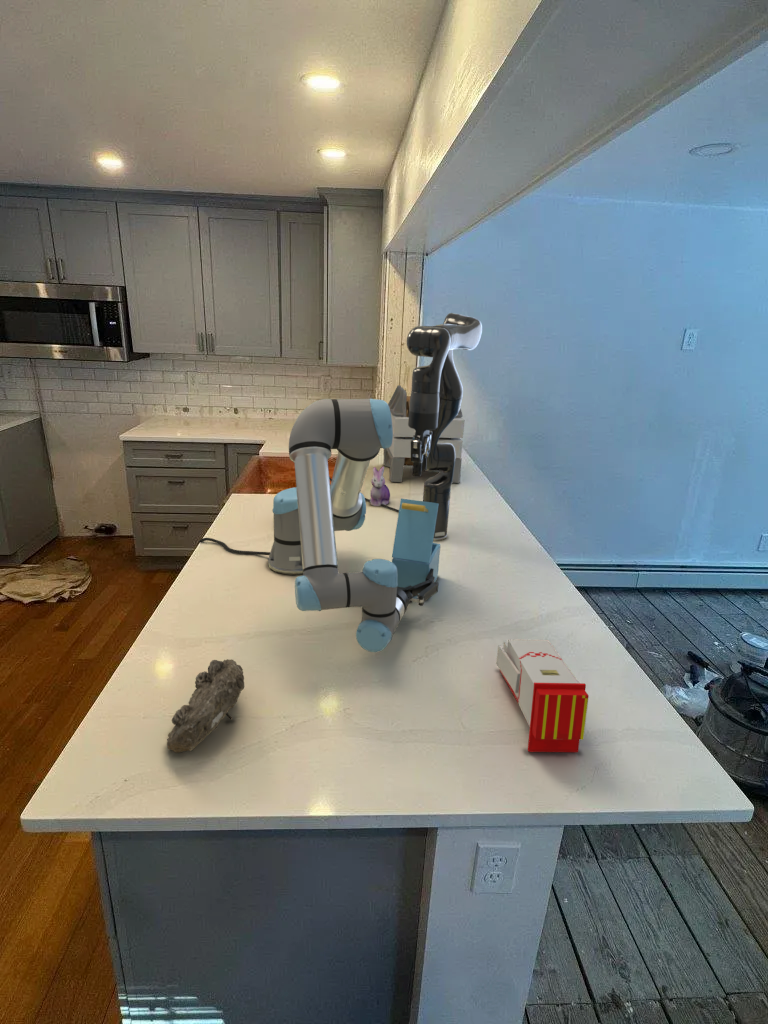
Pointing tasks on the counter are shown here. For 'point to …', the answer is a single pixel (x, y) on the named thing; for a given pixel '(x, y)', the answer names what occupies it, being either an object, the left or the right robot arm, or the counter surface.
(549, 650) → the toy
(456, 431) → the grey wooden crate
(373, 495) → the figurine
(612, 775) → the counter surface
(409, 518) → the lid
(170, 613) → the counter surface
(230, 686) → the fossil
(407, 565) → the chest
